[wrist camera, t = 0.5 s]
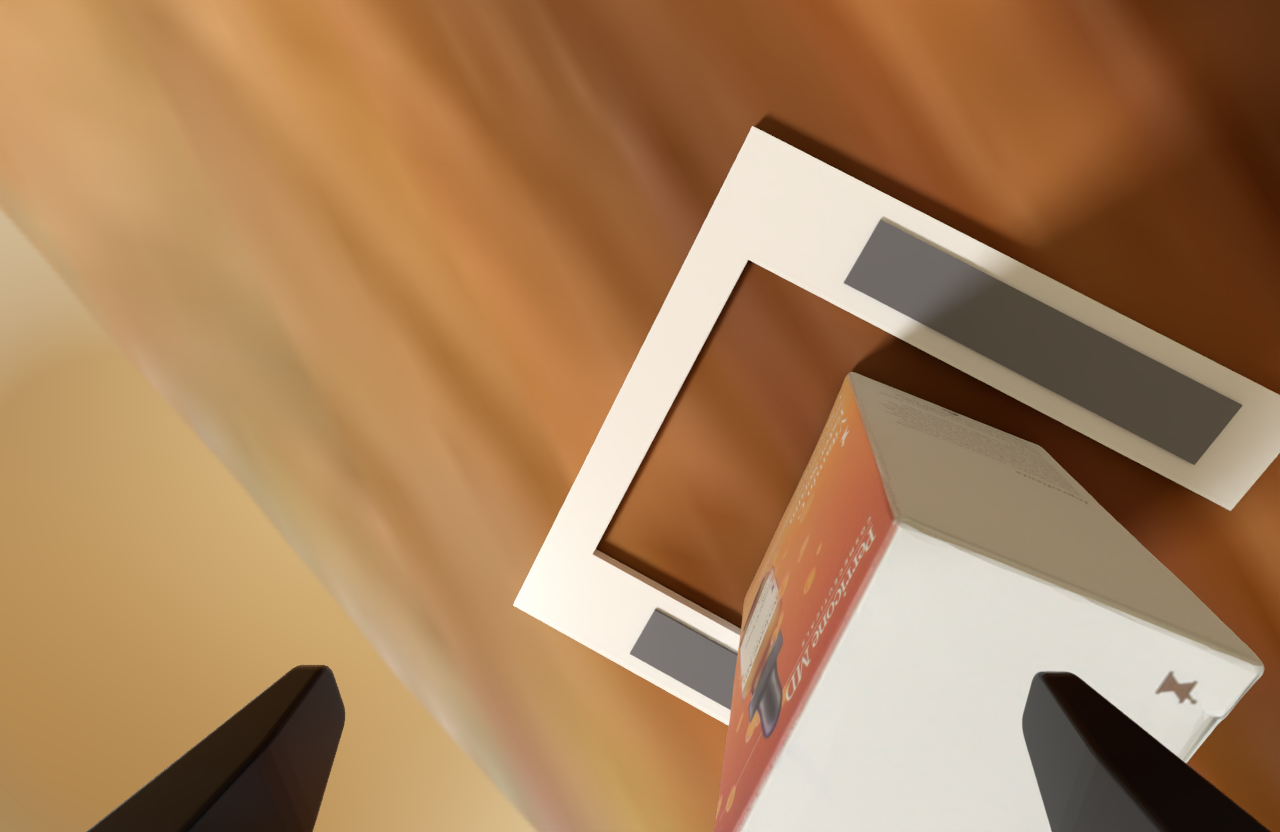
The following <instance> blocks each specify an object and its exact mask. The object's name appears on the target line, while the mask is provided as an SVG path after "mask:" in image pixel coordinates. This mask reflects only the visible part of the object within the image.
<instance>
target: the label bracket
mask: <svg viewBox="0 0 1280 832" xmlns="http://www.w3.org/2000/svg"><path fill="white" fill-rule="evenodd" d="M748 260H750V261H752V262H754V263H756V264H758V265H759V266H761V267H763V268H765V269H767V270H769V271H771V272H773V273H775V274H777V275H779V276H781V277H782V278H784V279H786V280H788V281H790V282H792V283H794V284H796V285H798V286H800V287H802V288H804V289H806V290H807V291H809V292H811V293H813V294H815V295H817V296H819V297H821V298H823V299H825V300H827V301H829V302H830V303H832V304H834V305H836V306H838V307H840V308H842V309H844V310H846V311H848V312H850V313H852V314H853V315H855V316H857V317H859V318H861V319H863V320H865V321H867V322H869V323H871V324H873V325H875V326H877V327H878V328H880V329H882V330H884V331H886V332H888V333H890V334H892V335H894V336H896V337H898V338H900V339H901V340H903V341H905V342H907V343H909V344H911V345H913V346H915V347H917V348H919V349H921V350H923V351H925V352H926V353H928V354H930V355H932V356H934V357H936V358H938V359H940V360H942V361H944V362H946V363H948V364H949V365H951V366H953V367H955V368H957V369H959V370H961V371H963V372H965V373H967V374H969V375H971V376H973V377H974V378H976V379H978V380H980V381H982V382H984V383H986V384H988V385H990V386H992V387H994V388H996V389H997V390H999V391H1001V392H1003V393H1005V394H1007V395H1009V396H1011V397H1013V398H1015V399H1017V400H1019V401H1021V402H1022V403H1024V404H1026V405H1028V406H1030V407H1032V408H1034V409H1036V410H1038V411H1040V412H1042V413H1044V414H1045V415H1047V416H1049V417H1051V418H1053V419H1055V420H1057V421H1059V422H1061V423H1063V424H1065V425H1067V426H1068V427H1070V428H1072V429H1074V430H1076V431H1078V432H1080V433H1082V434H1084V435H1086V436H1088V437H1090V438H1092V439H1093V440H1095V441H1097V442H1099V443H1101V444H1103V445H1105V446H1107V447H1109V448H1111V449H1113V450H1115V451H1116V452H1118V453H1120V454H1122V455H1124V456H1126V457H1128V458H1130V459H1132V460H1134V461H1136V462H1138V463H1140V464H1141V465H1143V466H1145V467H1147V468H1149V469H1151V470H1153V471H1155V472H1157V473H1159V474H1161V475H1163V476H1164V477H1166V478H1168V479H1170V480H1172V481H1174V482H1176V483H1178V484H1180V485H1182V486H1184V487H1186V488H1188V489H1189V490H1191V491H1193V492H1195V493H1197V494H1199V495H1201V496H1203V497H1205V498H1207V499H1209V500H1211V501H1212V502H1214V503H1216V504H1218V505H1220V506H1222V507H1224V508H1226V509H1228V510H1230V511H1231V510H1232V509H1233V508H1234V506H1235V505H1236V504H1237V503H1238V502H1239V501H1240V499H1241V498H1242V497H1243V496H1244V495H1245V493H1246V492H1247V491H1248V490H1249V489H1250V487H1251V486H1252V485H1253V484H1254V483H1255V482H1256V480H1257V479H1258V478H1259V477H1260V476H1261V474H1262V473H1263V472H1264V471H1265V470H1266V469H1267V467H1268V466H1269V465H1270V464H1271V463H1272V461H1273V460H1274V459H1275V458H1276V457H1277V455H1278V454H1279V453H1280V395H1279V394H1277V393H1275V392H1273V391H1271V390H1269V389H1267V388H1265V387H1263V386H1261V385H1259V384H1257V383H1255V382H1253V381H1251V380H1249V379H1248V378H1246V377H1244V376H1242V375H1240V374H1238V373H1236V372H1234V371H1232V370H1230V369H1228V368H1226V367H1224V366H1222V365H1220V364H1218V363H1216V362H1214V361H1212V360H1210V359H1208V358H1206V357H1204V356H1202V355H1200V354H1199V353H1197V352H1195V351H1193V350H1191V349H1189V348H1187V347H1185V346H1183V345H1181V344H1179V343H1177V342H1175V341H1173V340H1171V339H1169V338H1167V337H1165V336H1163V335H1161V334H1159V333H1157V332H1155V331H1153V330H1151V329H1149V328H1148V327H1146V326H1144V325H1142V324H1140V323H1138V322H1136V321H1134V320H1132V319H1130V318H1128V317H1126V316H1124V315H1122V314H1120V313H1118V312H1116V311H1114V310H1112V309H1110V308H1108V307H1106V306H1104V305H1102V304H1100V303H1099V302H1097V301H1095V300H1093V299H1091V298H1089V297H1087V296H1085V295H1083V294H1081V293H1079V292H1077V291H1075V290H1073V289H1071V288H1069V287H1067V286H1065V285H1063V284H1061V283H1059V282H1057V281H1055V280H1053V279H1051V278H1050V277H1048V276H1046V275H1044V274H1042V273H1040V272H1038V271H1036V270H1034V269H1032V268H1030V267H1028V266H1026V265H1024V264H1022V263H1020V262H1018V261H1016V260H1014V259H1012V258H1010V257H1008V256H1006V255H1004V254H1002V253H1001V252H999V251H997V250H995V249H993V248H991V247H989V246H987V245H985V244H983V243H981V242H979V241H977V240H975V239H973V238H971V237H969V236H967V235H965V234H963V233H961V232H959V231H957V230H955V229H953V228H952V227H950V226H948V225H946V224H944V223H942V222H940V221H938V220H936V219H934V218H932V217H930V216H928V215H926V214H924V213H922V212H920V211H918V210H916V209H914V208H912V207H910V206H908V205H906V204H904V203H903V202H901V201H899V200H897V199H895V198H893V197H891V196H889V195H887V194H885V193H883V192H881V191H879V190H877V189H875V188H873V187H871V186H869V185H867V184H865V183H863V182H861V181H859V180H857V179H855V178H854V177H852V176H850V175H848V174H846V173H844V172H842V171H840V170H838V169H836V168H834V167H832V166H830V165H828V164H826V163H824V162H822V161H820V160H818V159H816V158H814V157H812V156H810V155H808V154H806V153H805V152H803V151H801V150H799V149H797V148H795V147H793V146H791V145H789V144H787V143H785V142H783V141H781V140H779V139H777V138H775V137H773V136H771V135H769V134H767V133H765V132H763V131H761V130H759V129H757V128H756V127H754V126H752V128H751V130H750V132H749V134H748V136H747V138H746V140H745V142H744V144H743V146H742V148H741V150H740V152H739V154H738V156H737V158H736V160H735V162H734V164H733V166H732V168H731V170H730V172H729V174H728V176H727V178H726V180H725V182H724V184H723V186H722V188H721V190H720V192H719V194H718V196H717V198H716V200H715V202H714V204H713V206H712V208H711V210H710V212H709V214H708V216H707V218H706V220H705V222H704V224H703V226H702V228H701V230H700V232H699V234H698V236H697V238H696V240H695V242H694V244H693V246H692V248H691V250H690V252H689V254H688V256H687V258H686V260H685V262H684V264H683V266H682V268H681V270H680V272H679V274H678V276H677V278H676V280H675V282H674V284H673V286H672V288H671V290H670V292H669V294H668V296H667V298H666V300H665V302H664V304H663V306H662V308H661V310H660V312H659V314H658V316H657V318H656V320H655V322H654V324H653V326H652V328H651V330H650V332H649V334H648V336H647V338H646V340H645V342H644V344H643V346H642V348H641V350H640V352H639V354H638V356H637V358H636V360H635V362H634V364H633V366H632V368H631V370H630V372H629V374H628V376H627V378H626V380H625V382H624V384H623V386H622V388H621V390H620V392H619V394H618V396H617V398H616V400H615V402H614V404H613V406H612V408H611V410H610V412H609V414H608V416H607V418H606V420H605V422H604V424H603V426H602V428H601V430H600V432H599V434H598V436H597V438H596V440H595V442H594V444H593V446H592V448H591V450H590V452H589V454H588V456H587V458H586V460H585V462H584V464H583V466H582V468H581V470H580V472H579V474H578V476H577V478H576V480H575V482H574V484H573V486H572V488H571V490H570V492H569V494H568V496H567V498H566V500H565V502H564V504H563V506H562V508H561V510H560V512H559V514H558V516H557V518H556V520H555V522H554V524H553V526H552V528H551V530H550V532H549V534H548V536H547V538H546V540H545V542H544V544H543V546H542V548H541V550H540V552H539V554H538V556H537V558H536V560H535V562H534V564H533V566H532V568H531V570H530V572H529V574H528V576H527V578H526V580H525V582H524V584H523V586H522V588H521V590H520V592H519V594H518V596H517V598H516V600H515V602H514V604H513V606H515V607H517V608H519V609H521V610H522V611H524V612H526V613H528V614H530V615H531V616H533V617H535V618H537V619H538V620H540V621H542V622H544V623H546V624H547V625H549V626H551V627H553V628H555V629H556V630H558V631H560V632H562V633H564V634H565V635H567V636H569V637H571V638H572V639H574V640H576V641H578V642H580V643H581V644H583V645H585V646H587V647H589V648H590V649H592V650H594V651H596V652H598V653H599V654H601V655H603V656H605V657H606V658H608V659H610V660H612V661H614V662H615V663H617V664H619V665H621V666H623V667H624V668H626V669H628V670H630V671H632V672H633V673H635V674H637V675H639V676H641V677H642V678H644V679H646V680H648V681H649V682H651V683H653V684H655V685H657V686H658V687H660V688H662V689H664V690H666V691H667V692H669V693H671V694H673V695H675V696H676V697H678V698H680V699H682V700H683V701H685V702H687V703H689V704H691V705H692V706H694V707H696V708H698V709H700V710H701V711H703V712H705V713H707V714H709V715H710V716H712V717H714V718H716V719H717V720H719V721H721V722H723V723H725V724H726V725H728V726H729V721H730V712H731V704H732V695H733V686H734V678H735V669H736V662H737V655H738V648H739V642H740V634H741V629H740V628H738V627H737V626H735V625H733V624H731V623H729V622H728V621H726V620H724V619H722V618H720V617H718V616H717V615H715V614H713V613H711V612H709V611H708V610H706V609H704V608H702V607H700V606H699V605H697V604H695V603H693V602H691V601H689V600H688V599H686V598H684V597H682V596H680V595H679V594H677V593H675V592H673V591H671V590H669V589H668V588H666V587H664V586H662V585H660V584H659V583H657V582H655V581H653V580H651V579H649V578H648V577H646V576H644V575H642V574H640V573H639V572H637V571H635V570H633V569H631V568H629V567H628V566H626V565H624V564H622V563H620V562H619V561H617V560H615V559H613V558H611V557H610V556H608V555H606V554H604V553H602V552H600V551H599V550H597V549H596V547H597V546H598V544H599V542H600V540H601V538H602V536H603V534H604V532H605V530H606V528H607V527H608V525H609V523H610V521H611V519H612V517H613V515H614V513H615V511H616V510H617V508H618V506H619V504H620V502H621V500H622V498H623V496H624V494H625V493H626V491H627V489H628V487H629V485H630V483H631V481H632V479H633V477H634V475H635V474H636V472H637V470H638V468H639V466H640V464H641V462H642V460H643V458H644V457H645V455H646V453H647V451H648V449H649V447H650V445H651V443H652V441H653V440H654V438H655V436H656V434H657V432H658V430H659V428H660V426H661V424H662V422H663V421H664V419H665V417H666V415H667V413H668V411H669V409H670V407H671V405H672V404H673V402H674V400H675V398H676V396H677V394H678V392H679V390H680V388H681V387H682V385H683V383H684V381H685V379H686V377H687V375H688V373H689V371H690V369H691V368H692V366H693V364H694V362H695V360H696V358H697V356H698V354H699V352H700V351H701V349H702V347H703V345H704V343H705V341H706V339H707V337H708V335H709V334H710V332H711V330H712V328H713V326H714V324H715V322H716V320H717V318H718V316H719V315H720V313H721V311H722V309H723V307H724V305H725V303H726V301H727V299H728V298H729V296H730V294H731V292H732V290H733V288H734V286H735V284H736V282H737V281H738V279H739V277H740V275H741V273H742V271H743V269H744V267H745V265H746V264H747V262H748Z"/></svg>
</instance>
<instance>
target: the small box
mask: <svg viewBox="0 0 1280 832" xmlns="http://www.w3.org/2000/svg"><path fill="white" fill-rule="evenodd" d="M1264 670H1265V669H1264V665H1263V663H1262V662H1261V660H1260V659H1259V658H1258V657H1257V656H1256V655H1255V653H1254V652H1253V651H1252V650H1251V649H1250V648H1249V647H1248V646H1247V645H1246V644H1245V643H1244V642H1243V641H1242V640H1240V639H1239V637H1238V636H1237V635H1236V634H1235V633H1234V632H1233V631H1232V630H1231V629H1230V628H1229V627H1227V626H1226V625H1225V624H1224V623H1223V622H1222V621H1221V620H1220V619H1219V618H1218V617H1217V616H1216V615H1215V614H1214V613H1213V612H1212V611H1211V610H1210V609H1209V608H1208V607H1207V606H1206V605H1205V604H1204V603H1203V602H1202V601H1201V600H1200V599H1199V598H1197V597H1196V596H1195V594H1194V593H1193V592H1192V591H1191V590H1190V589H1189V588H1187V587H1186V586H1185V585H1184V584H1183V583H1182V582H1181V581H1180V580H1179V579H1178V578H1177V577H1176V576H1175V575H1174V574H1173V573H1172V572H1171V571H1169V570H1168V569H1167V568H1166V567H1165V566H1164V565H1163V564H1162V563H1161V562H1160V561H1159V560H1158V559H1157V558H1155V557H1154V556H1153V555H1152V554H1151V553H1150V552H1149V551H1148V550H1147V549H1146V548H1145V547H1144V546H1143V545H1142V544H1141V543H1140V542H1139V541H1138V540H1137V539H1136V538H1135V537H1134V536H1133V535H1132V534H1130V533H1129V532H1128V531H1127V530H1126V529H1125V528H1124V527H1123V526H1122V525H1121V524H1120V523H1119V522H1118V521H1117V520H1116V519H1115V518H1114V517H1113V516H1112V515H1110V514H1109V513H1108V512H1107V511H1106V510H1105V509H1104V508H1103V507H1102V506H1101V505H1100V504H1099V503H1098V502H1097V501H1096V500H1095V499H1094V498H1093V497H1092V496H1091V495H1090V494H1089V493H1088V492H1087V491H1086V490H1085V489H1084V488H1083V487H1082V486H1081V485H1080V484H1079V483H1078V482H1077V481H1076V480H1075V479H1074V478H1073V477H1072V476H1071V475H1070V474H1068V473H1067V472H1066V471H1065V470H1064V469H1063V468H1062V467H1061V466H1060V465H1059V464H1058V463H1057V462H1056V461H1055V460H1054V459H1053V458H1052V457H1051V456H1050V455H1049V454H1048V453H1047V452H1046V451H1045V450H1044V449H1043V448H1042V447H1041V446H1039V445H1037V444H1034V443H1032V442H1029V441H1026V440H1024V439H1021V438H1018V437H1016V436H1013V435H1011V434H1008V433H1006V432H1003V431H1001V430H999V429H996V428H993V427H991V426H988V425H986V424H983V423H981V422H978V421H976V420H973V419H971V418H968V417H966V416H963V415H961V414H958V413H956V412H953V411H951V410H948V409H946V408H943V407H941V406H938V405H936V404H933V403H931V402H928V401H926V400H923V399H921V398H918V397H916V396H913V395H911V394H908V393H906V392H903V391H901V390H898V389H895V388H893V387H890V386H888V385H885V384H883V383H880V382H878V381H875V380H872V379H870V378H867V377H865V376H862V375H860V374H858V373H855V372H849V373H848V374H847V376H846V378H845V380H844V382H843V385H842V387H841V390H840V392H839V394H838V396H837V399H836V401H835V403H834V406H833V408H832V411H831V413H830V416H829V418H828V421H827V423H826V425H825V427H824V430H823V432H822V434H821V436H820V439H819V441H818V443H817V445H816V448H815V450H814V452H813V454H812V456H811V459H810V461H809V463H808V465H807V467H806V469H805V471H804V473H803V476H802V478H801V480H800V482H799V484H798V486H797V488H796V490H795V493H794V495H793V497H792V499H791V501H790V503H789V505H788V507H787V509H786V511H785V513H784V515H783V517H782V519H781V521H780V524H779V526H778V528H777V530H776V532H775V534H774V536H773V539H772V541H771V543H770V545H769V547H768V549H767V552H766V554H765V556H764V558H763V560H762V562H761V564H760V567H759V569H758V571H757V573H756V575H755V577H754V579H753V581H752V583H751V585H750V588H749V590H748V592H747V594H746V596H745V600H744V607H743V618H742V626H741V634H740V642H739V648H738V655H737V662H736V669H735V678H734V686H733V695H732V704H731V712H730V721H729V727H728V732H727V740H726V746H725V753H724V760H723V769H722V776H721V784H720V793H719V801H718V808H717V815H716V822H715V830H714V832H1052V831H1051V828H1050V825H1049V821H1048V818H1047V814H1046V811H1045V808H1044V804H1043V801H1042V797H1041V794H1040V791H1039V787H1038V784H1037V780H1036V777H1035V774H1034V770H1033V767H1032V763H1031V760H1030V756H1029V753H1028V750H1027V746H1026V743H1025V739H1024V736H1023V730H1022V716H1023V712H1024V708H1025V704H1026V701H1027V697H1028V693H1029V690H1030V686H1031V682H1032V679H1033V677H1034V675H1035V674H1036V673H1038V672H1041V671H1065V672H1071V673H1073V674H1075V675H1077V676H1078V677H1080V678H1081V679H1082V680H1083V681H1085V682H1086V683H1087V684H1088V685H1090V686H1091V687H1092V688H1093V689H1094V690H1096V691H1097V692H1098V693H1099V694H1101V695H1102V696H1103V697H1104V698H1106V699H1107V700H1108V701H1109V702H1111V703H1112V704H1113V705H1114V706H1116V707H1117V708H1118V709H1119V710H1121V711H1122V712H1123V713H1124V714H1126V715H1127V716H1128V717H1129V718H1130V719H1132V720H1133V721H1134V722H1135V723H1137V724H1138V725H1139V726H1140V727H1142V728H1143V729H1144V730H1145V731H1147V732H1148V733H1149V734H1150V735H1152V736H1153V737H1154V738H1155V739H1157V740H1158V741H1159V742H1160V743H1162V744H1163V745H1164V746H1165V747H1166V748H1168V749H1169V750H1170V751H1171V752H1173V753H1174V754H1175V755H1176V756H1178V757H1179V758H1180V759H1181V760H1183V761H1184V762H1185V763H1187V762H1188V761H1189V759H1190V758H1191V757H1192V756H1193V754H1194V753H1195V752H1196V751H1197V749H1198V748H1199V747H1200V746H1201V745H1202V743H1203V742H1204V741H1205V740H1206V738H1207V737H1208V736H1209V735H1210V733H1211V732H1212V731H1213V730H1214V728H1215V727H1216V726H1217V725H1218V724H1219V723H1220V722H1221V721H1222V720H1223V719H1224V718H1225V717H1226V716H1227V715H1228V714H1229V713H1230V712H1231V710H1232V709H1233V708H1234V707H1235V705H1236V704H1237V703H1238V702H1239V701H1240V699H1241V698H1242V697H1243V696H1244V694H1245V693H1246V692H1247V691H1248V690H1249V689H1250V688H1251V687H1252V686H1253V684H1254V683H1255V682H1256V681H1257V680H1258V679H1259V678H1260V677H1261V676H1262V674H1263V672H1264Z"/></svg>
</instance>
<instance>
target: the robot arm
mask: <svg viewBox="0 0 1280 832" xmlns="http://www.w3.org/2000/svg"><path fill="white" fill-rule="evenodd" d="M344 722H345V708H344V705H343V701H342V698H341V696H340V692H339V689H338V686H337V683H336V680H335V678H334V674H333V672H332V670H331V669H330V668H329V667H328V666H325V665H300V666H297V667H295V668H293V669H292V670H290V671H289V672H288V673H286V674H285V675H284V676H283V677H281V678H280V679H279V680H278V681H276V682H275V683H274V684H273V685H271V686H270V687H269V688H267V689H266V690H265V691H264V692H262V693H261V694H260V695H259V696H257V697H256V698H255V699H253V700H252V701H251V702H250V703H248V704H247V705H246V706H245V707H243V708H242V709H241V710H240V711H238V712H237V713H236V714H234V715H233V716H232V717H231V718H229V719H228V720H227V721H226V722H224V723H223V724H222V725H221V726H219V727H218V728H217V729H216V730H214V731H213V732H212V733H210V734H209V735H208V736H207V737H205V738H204V739H203V740H202V741H200V742H199V743H198V744H197V745H195V746H194V747H193V748H191V750H189V751H188V752H186V753H185V754H184V755H183V756H181V757H180V758H179V759H178V760H176V761H175V762H174V763H173V764H171V765H170V766H169V767H167V768H166V769H165V770H164V771H163V772H161V773H160V774H159V775H157V776H156V777H155V778H154V779H152V780H151V781H150V782H149V783H147V784H146V785H145V786H143V787H142V788H141V789H140V790H138V791H137V792H136V793H135V794H133V795H132V796H131V797H130V798H128V799H127V800H126V801H125V802H123V803H122V804H121V805H119V806H118V807H117V808H116V809H114V810H113V811H112V812H111V813H109V814H108V815H107V816H106V817H104V818H103V819H102V820H101V821H99V822H98V823H97V824H95V825H94V826H93V827H92V828H91V829H89V830H88V831H87V832H313V828H314V826H315V822H316V819H317V816H318V812H319V808H320V805H321V802H322V799H323V795H324V792H325V788H326V785H327V782H328V778H329V775H330V772H331V768H332V765H333V761H334V758H335V755H336V751H337V747H338V744H339V741H340V737H341V734H342V730H343V727H344ZM1022 730H1023V736H1024V739H1025V743H1026V746H1027V750H1028V753H1029V756H1030V760H1031V763H1032V767H1033V770H1034V774H1035V777H1036V780H1037V784H1038V787H1039V791H1040V794H1041V797H1042V801H1043V804H1044V808H1045V811H1046V814H1047V818H1048V821H1049V825H1050V828H1051V831H1052V832H1271V831H1270V830H1268V829H1267V828H1266V827H1265V826H1263V825H1262V824H1261V823H1260V822H1258V821H1257V820H1256V819H1255V818H1253V817H1252V816H1251V815H1250V814H1248V813H1247V812H1246V811H1245V810H1243V809H1242V808H1241V807H1240V806H1239V805H1237V804H1236V803H1235V802H1234V801H1232V800H1231V799H1230V798H1229V797H1227V796H1226V795H1225V794H1224V793H1222V792H1221V791H1220V790H1219V789H1217V788H1216V787H1215V786H1214V785H1212V784H1211V783H1210V782H1209V781H1207V780H1206V779H1205V778H1204V777H1203V776H1201V775H1200V774H1199V773H1198V772H1196V771H1195V770H1194V769H1193V768H1191V767H1190V766H1189V765H1188V764H1186V763H1185V762H1184V761H1183V760H1181V759H1180V758H1179V757H1178V756H1176V755H1175V754H1174V753H1173V752H1171V751H1170V750H1169V749H1168V748H1166V747H1165V746H1164V745H1163V744H1162V743H1160V742H1159V741H1158V740H1157V739H1155V738H1154V737H1153V736H1152V735H1150V734H1149V733H1148V732H1147V731H1145V730H1144V729H1143V728H1142V727H1140V726H1139V725H1138V724H1137V723H1135V722H1134V721H1133V720H1132V719H1130V718H1129V717H1128V716H1127V715H1126V714H1124V713H1123V712H1122V711H1121V710H1119V709H1118V708H1117V707H1116V706H1114V705H1113V704H1112V703H1111V702H1109V701H1108V700H1107V699H1106V698H1104V697H1103V696H1102V695H1101V694H1099V693H1098V692H1097V691H1096V690H1094V689H1093V688H1092V687H1091V686H1090V685H1088V684H1087V683H1086V682H1085V681H1083V680H1082V679H1081V678H1080V677H1078V676H1077V675H1075V674H1073V673H1071V672H1065V671H1041V672H1038V673H1036V674H1035V675H1034V677H1033V679H1032V682H1031V686H1030V690H1029V693H1028V697H1027V701H1026V704H1025V708H1024V712H1023V716H1022Z"/></svg>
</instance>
